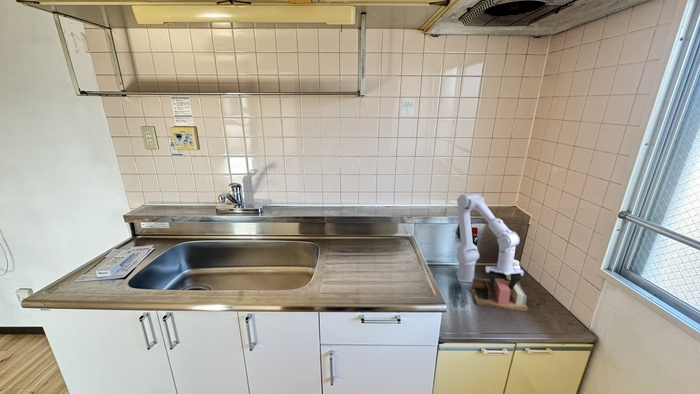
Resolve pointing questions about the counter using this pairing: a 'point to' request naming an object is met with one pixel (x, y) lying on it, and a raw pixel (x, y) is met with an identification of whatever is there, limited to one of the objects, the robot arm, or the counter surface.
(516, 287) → the books
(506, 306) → the shelf
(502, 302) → the tall pink block
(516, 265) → the supplement bottle
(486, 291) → the bookend
